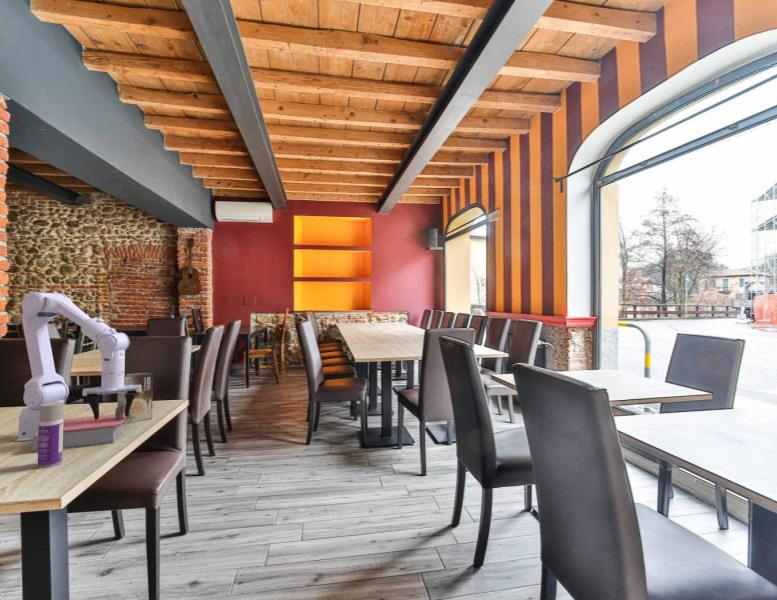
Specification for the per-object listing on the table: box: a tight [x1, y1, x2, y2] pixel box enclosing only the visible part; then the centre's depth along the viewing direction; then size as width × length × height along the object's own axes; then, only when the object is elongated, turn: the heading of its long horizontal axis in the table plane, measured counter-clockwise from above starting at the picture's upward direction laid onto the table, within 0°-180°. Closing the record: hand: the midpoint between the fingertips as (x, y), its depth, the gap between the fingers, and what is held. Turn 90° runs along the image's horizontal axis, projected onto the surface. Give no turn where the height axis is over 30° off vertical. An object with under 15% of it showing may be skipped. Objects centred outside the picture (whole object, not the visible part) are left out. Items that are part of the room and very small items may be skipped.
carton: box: [32, 424, 123, 453], centre depth 115 cm, size 18×14×4 cm
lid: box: [63, 405, 127, 432], centre depth 116 cm, size 18×14×4 cm
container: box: [37, 402, 64, 468], centre depth 98 cm, size 5×5×15 cm
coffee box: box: [117, 371, 154, 425], centre depth 137 cm, size 9×6×16 cm
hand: (112, 417), depth 119 cm, fingers open, 7 cm apart
